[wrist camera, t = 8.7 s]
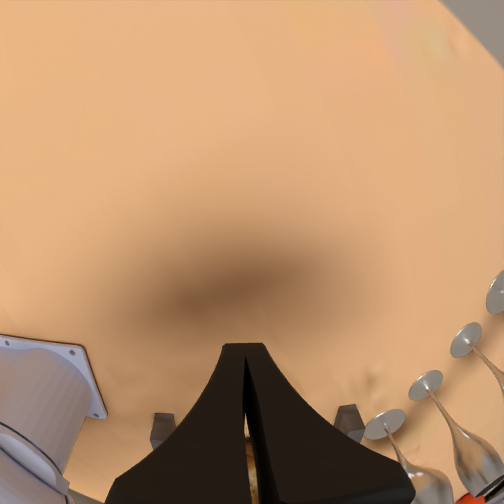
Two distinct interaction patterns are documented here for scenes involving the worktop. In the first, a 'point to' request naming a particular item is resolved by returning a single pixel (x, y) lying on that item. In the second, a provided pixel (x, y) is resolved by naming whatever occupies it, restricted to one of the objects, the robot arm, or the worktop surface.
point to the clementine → (472, 500)
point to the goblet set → (450, 425)
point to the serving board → (494, 495)
